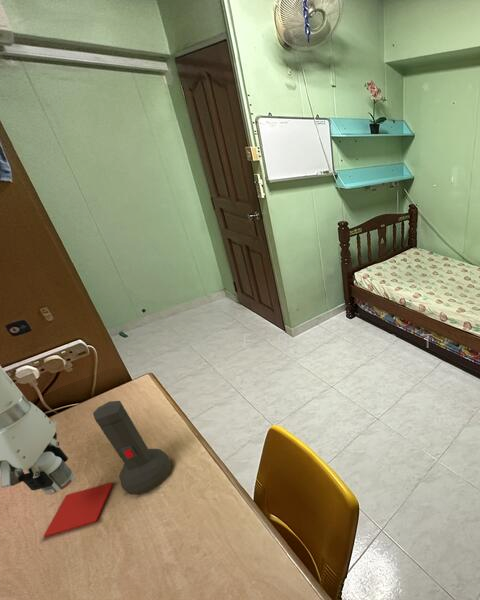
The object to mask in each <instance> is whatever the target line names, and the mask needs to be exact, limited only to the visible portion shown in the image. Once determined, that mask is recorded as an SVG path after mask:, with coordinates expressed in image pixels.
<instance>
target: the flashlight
mask: <svg viewBox="0 0 480 600" xmlns="http://www.w3.org/2000/svg"><path fill="white" fill-rule="evenodd" d="M92 415H93V418H94V420H95V422H96V424H97V425H98V427H100V429H101V431H102V433H103V434H104V435H105V437H106V439H107V441H109V443H110V445H111V446H112V447H113V449H114V450H115V452H116V453H117V455H118V457H119V458H120V459H121V461H122V462H123V466H122V468H121V470H120V473H119V475H118V476H119V483H120V486H121V489H123V490H124V491H125V492H127V493H128V494H129V495H142V494H145V493H148V492H150V491H152V490H154V489H156V488H157V487H159V486H160V485H161V484H162V483H163V482H164V481H165V480H166V479H167V477H168V476H169V475H170V472H171V468H172V465H171V459H170V456H169V455H168V454H167V453H166V452H165V451H163V449H159V448H149V447H148V446H147V444H146V443H145V441H144V439H143V437H142V435H141V433H140V432H139V431H138V429H137V427H136V425H135V423H134V422H133V420H132V419H131V417H130V415H129V413H128V412H127V410H126V409H125V406H124V405H123V403H122V402H121V400H113V401H108V402H106V403H104V404H102V405H100V406H98V407H97V408H96V409H95V410H94V412H92Z"/></svg>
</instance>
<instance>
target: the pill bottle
mask: <svg viewBox="0 0 480 600" xmlns="http://www.w3.org/2000/svg"><path fill="white" fill-rule="evenodd" d="M36 464H37V467H38V469H39V471H40V472H42V471H44V472H45V473H46V474H47V475H48V476H49V477H50V478H51V480H52V481H53V484H52V486H49V487H45V488H42V489H41V491H42V492H44V493H45V495H48V496H49V495H50V496H52V495H56V494H59V493H61V492H63V491H64V490H66V489H67V488H69V487H70V486H71V485H72V484H73V482H74V481H75V478H76V475H75V472H73V470H72V469H71V468H70V467H69V466H68V464H67V463H66V462H64V461H63V460H62V459H61V458H60V457H58V456H55V455H54V454H53V453H52V452H43V453H42V454H41V455H40V457H39V458H38V459H37V461H36ZM26 472H27V473H30V472H29V470H26Z"/></svg>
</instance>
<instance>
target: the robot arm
mask: <svg viewBox="0 0 480 600" xmlns="http://www.w3.org/2000/svg"><path fill="white" fill-rule="evenodd" d="M57 426H58V423H57V421H52V420H51V419H50V418H49V417H48V415H46V414H45V412H43V410H41V409H40V408H39V407H38V406H37V405H35V404H34V403H33V402H31V401H30V400H28V398H26V396H25V395H24V394H23V392H22V391H21V390H20V389H19V387H18V386H17V385H16V383H15V382H14V381H13V380H12V379H11V377H10V376H9V375H8V374H7V372H6V371H5V370H4V369H3V367H2V366H1V365H0V487H1V489H7V488H10V487H13V486H16V485H17V484H20V483H22V482H23V483H24V484H25V485H26V486H27V487H28V488H29V489H30V490H31V491H39V490H42V488H45V487H49V486H52V484H53V481H52V480H51V478H50V477H49V476H48V475H47V474H46V473H45V472H44V471H42V472H40V471H39V469H38V467H37V464H36V461H37V459H38V458H39V457H40V455H41V454H42V453H43V452H52V453H53V454H54V455H55V456H58V457H60V458H61V459H62V460H63V461H64V462H65V463H66V462H67V461H68V460H69V457H68V456H67V455H66V453H65V452H64V451H63V450H62V449H61V447H60V444H61V443H60V441H59V440H57V439H58V433H57V428H58V427H57ZM27 470H29V472H30V473H29V472H27ZM25 472H27V473H25Z"/></svg>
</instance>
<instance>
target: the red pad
mask: <svg viewBox="0 0 480 600" xmlns="http://www.w3.org/2000/svg"><path fill="white" fill-rule="evenodd" d="M113 486H114V482H109V483H105V484H102V485H98V486H94V487H91V488H87V489H84V490H79V491H76V492H72V493H69V494H66V495H65V496H64V498H63V500H62V502H61V504H60V506H59V507H58V509H57V511H56V513H55V514H54V516H53V518H52V520H51V522H50V524H49V526H48V528H47V529H46V531H45V533H44V534H43V537H44V538H47V537H51V536H54V535H58V534H61V533H64V532H68V531H71V530H74V529H78V528H83V527H84V526H88V525H92V524H94V523H97V522H98V521H99V518H100V517H101V514H102V511H103V508H104V507H105V504H106V503H107V500H108V497H109V496H110V493H111V491H112V488H113Z"/></svg>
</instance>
